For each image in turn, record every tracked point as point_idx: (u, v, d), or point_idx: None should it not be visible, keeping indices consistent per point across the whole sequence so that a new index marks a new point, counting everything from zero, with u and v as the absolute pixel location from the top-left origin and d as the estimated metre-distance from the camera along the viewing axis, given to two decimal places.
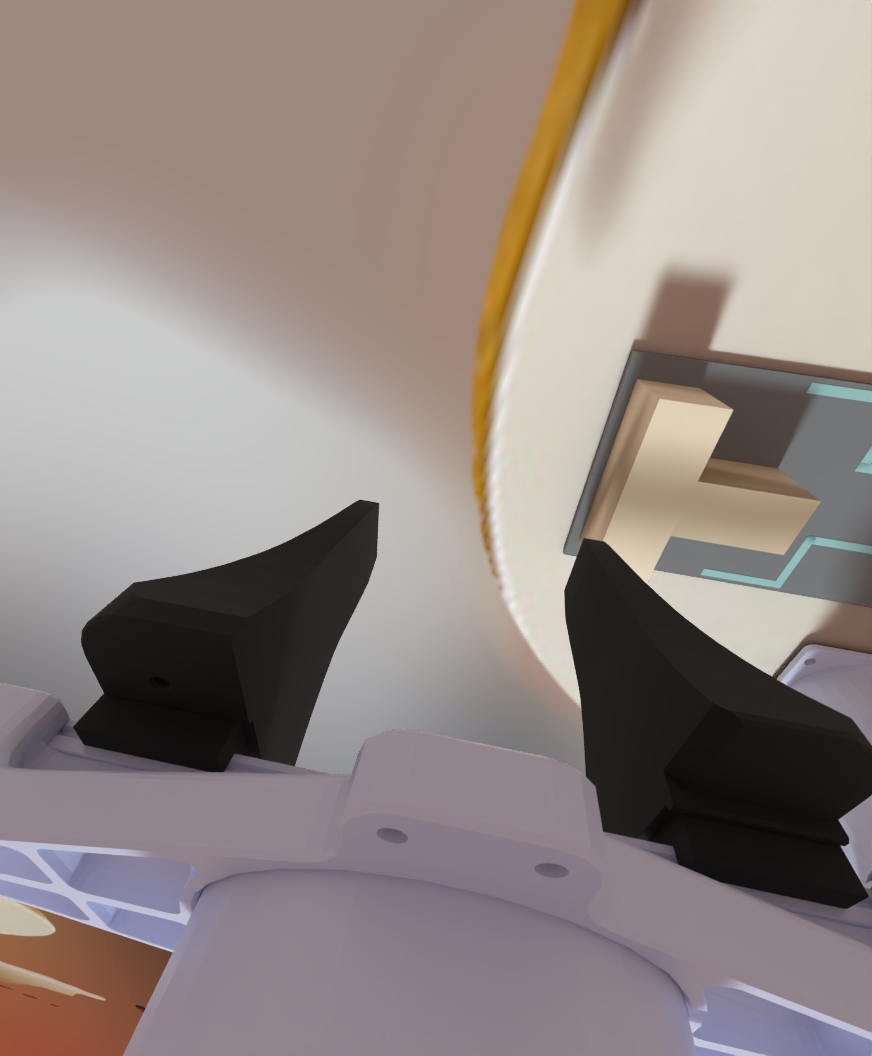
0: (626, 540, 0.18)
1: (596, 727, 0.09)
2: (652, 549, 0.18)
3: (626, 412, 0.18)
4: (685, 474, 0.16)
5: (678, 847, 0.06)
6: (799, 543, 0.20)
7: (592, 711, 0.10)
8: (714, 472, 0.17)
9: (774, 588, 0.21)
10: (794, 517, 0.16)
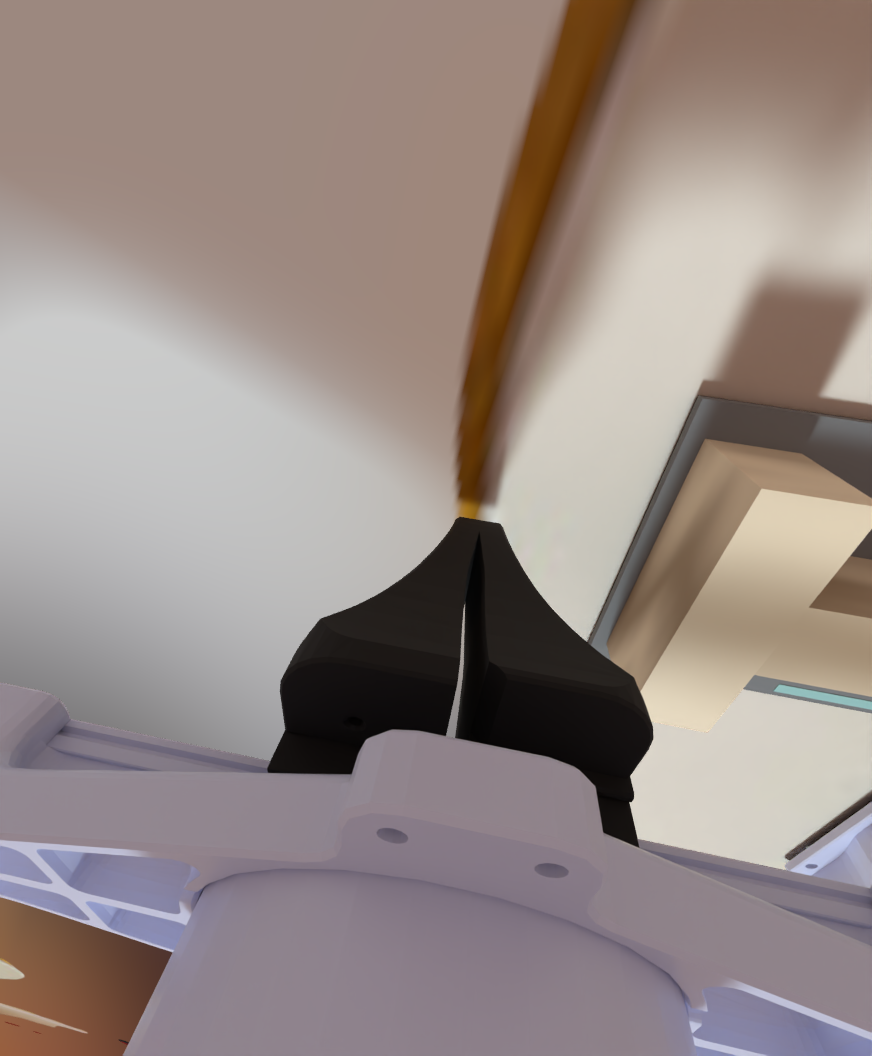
0: (685, 677, 0.12)
1: (462, 701, 0.10)
2: (724, 689, 0.12)
3: (685, 485, 0.12)
4: (790, 597, 0.10)
5: None
6: None
7: (463, 686, 0.10)
8: None
9: None
10: None
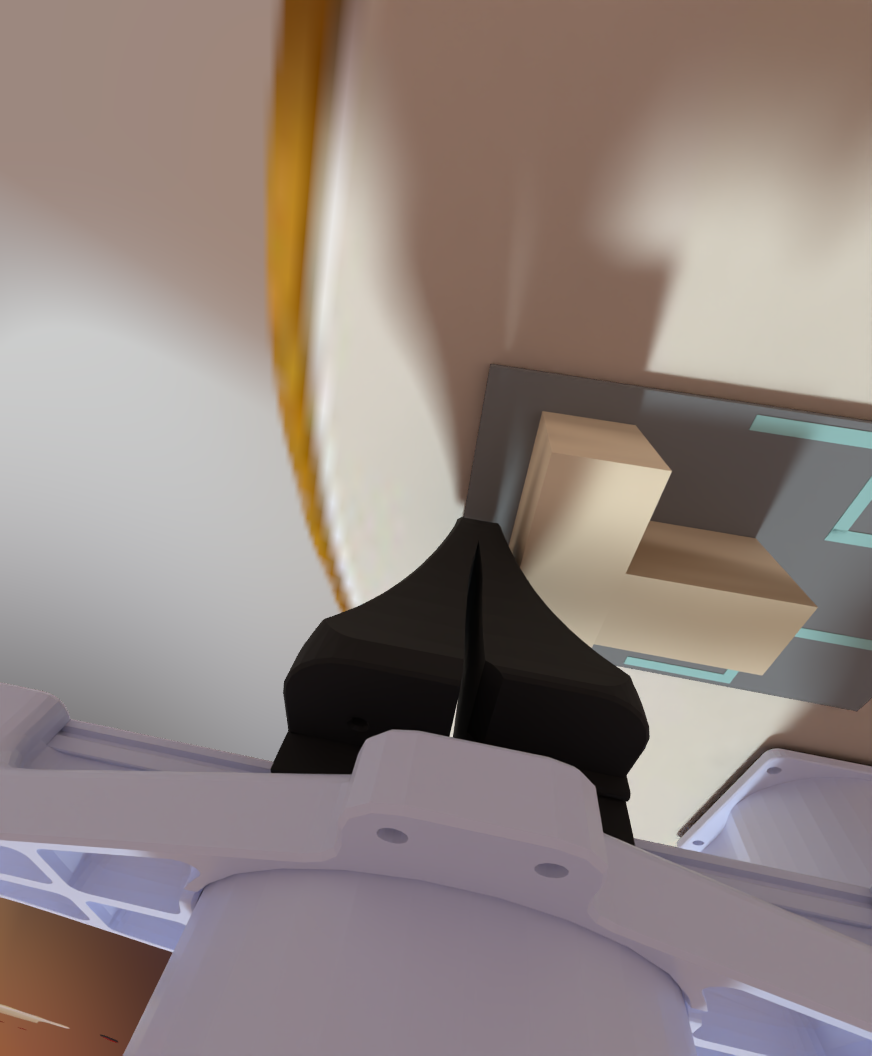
0: None
1: (460, 700, 0.10)
2: None
3: (531, 458, 0.12)
4: (605, 563, 0.10)
5: None
6: None
7: (461, 685, 0.10)
8: (657, 552, 0.11)
9: (722, 683, 0.16)
10: (776, 627, 0.10)
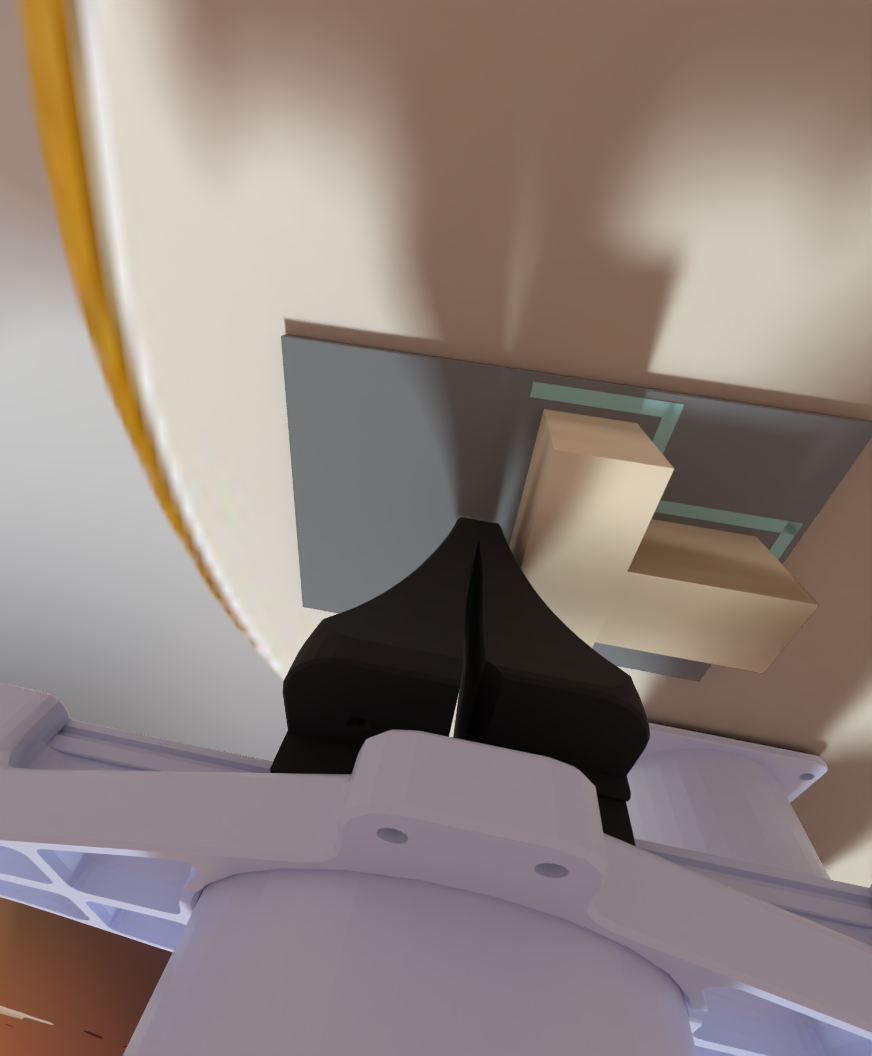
0: None
1: (460, 700, 0.10)
2: None
3: (532, 456, 0.12)
4: (607, 561, 0.10)
5: None
6: None
7: (461, 686, 0.10)
8: (658, 550, 0.11)
9: None
10: (778, 625, 0.10)
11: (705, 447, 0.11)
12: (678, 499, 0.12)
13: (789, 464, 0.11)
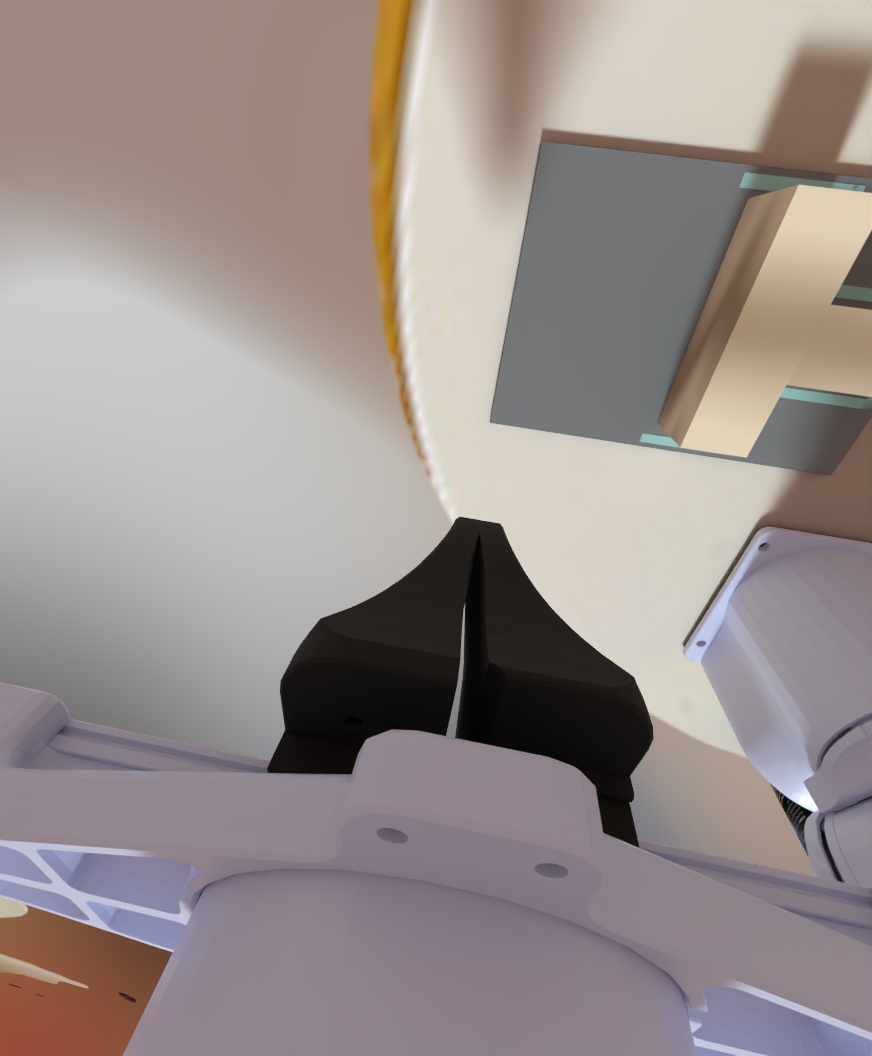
0: (732, 395, 0.15)
1: (462, 701, 0.10)
2: (762, 405, 0.15)
3: (731, 244, 0.15)
4: (816, 295, 0.13)
5: None
6: None
7: (463, 686, 0.10)
8: None
9: (720, 455, 0.19)
10: None
11: None
12: (845, 281, 0.15)
13: None
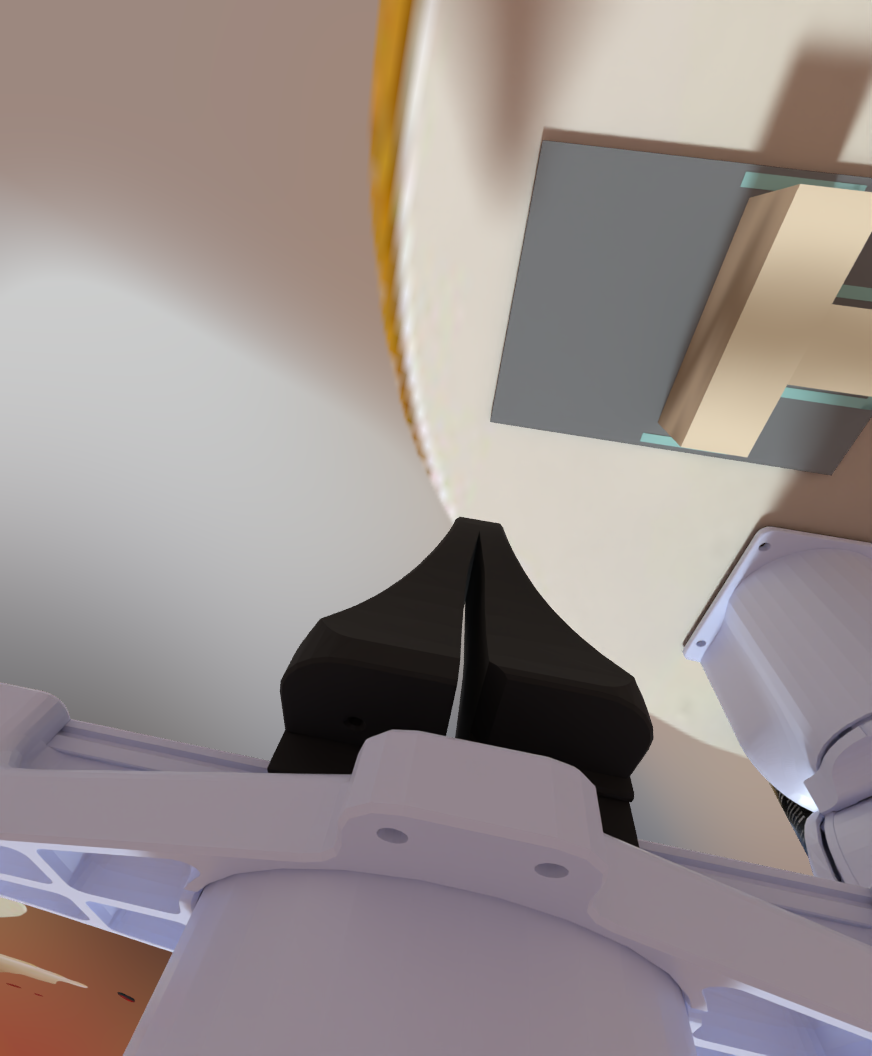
0: (732, 394, 0.15)
1: (462, 701, 0.10)
2: (762, 404, 0.15)
3: (732, 243, 0.15)
4: (817, 294, 0.13)
5: None
6: None
7: (463, 686, 0.10)
8: None
9: (721, 455, 0.19)
10: None
11: None
12: (846, 281, 0.15)
13: None
